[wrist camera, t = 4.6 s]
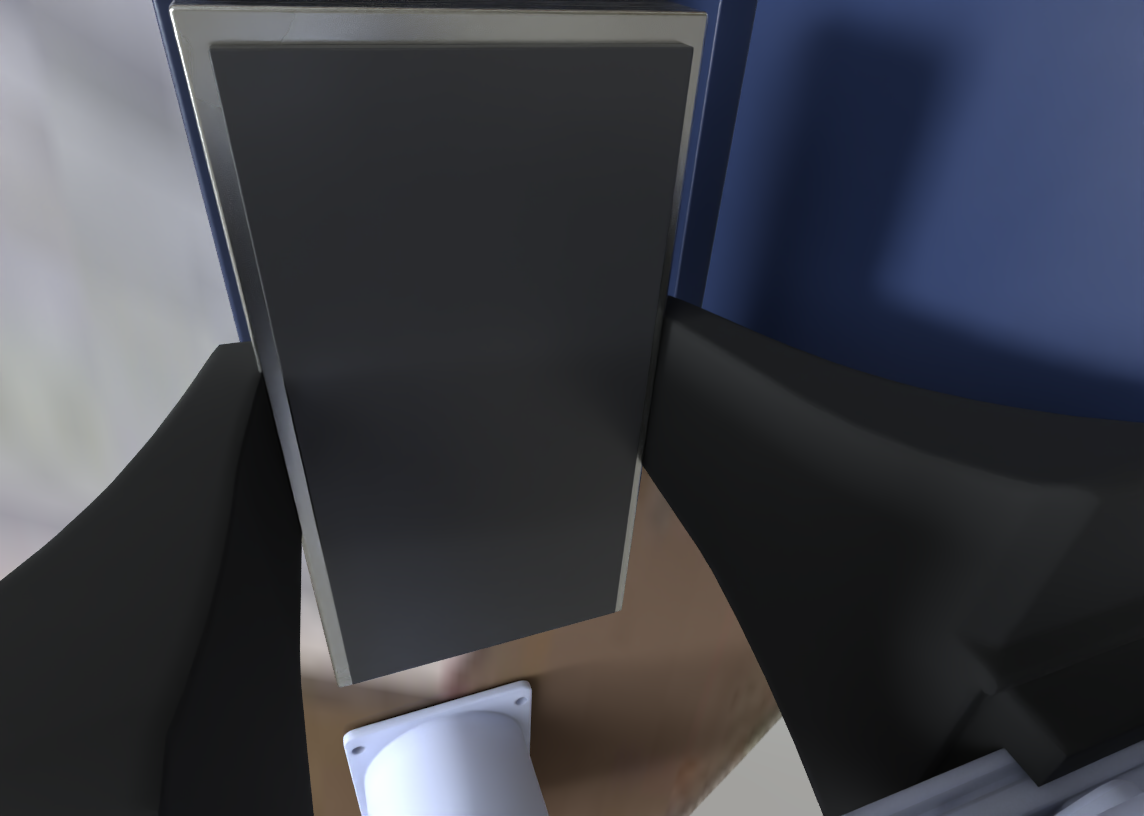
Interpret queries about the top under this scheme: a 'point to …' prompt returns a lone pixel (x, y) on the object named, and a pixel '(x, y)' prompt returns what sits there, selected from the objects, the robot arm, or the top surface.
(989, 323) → the cover
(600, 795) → the top surface
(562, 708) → the top surface
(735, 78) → the dark blue box
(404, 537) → the phone
